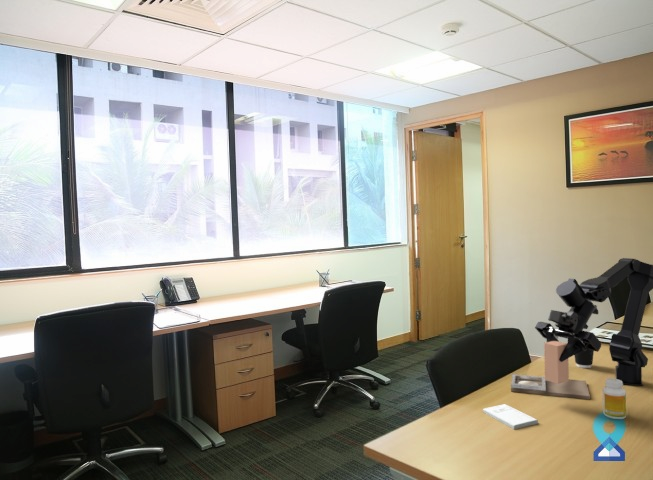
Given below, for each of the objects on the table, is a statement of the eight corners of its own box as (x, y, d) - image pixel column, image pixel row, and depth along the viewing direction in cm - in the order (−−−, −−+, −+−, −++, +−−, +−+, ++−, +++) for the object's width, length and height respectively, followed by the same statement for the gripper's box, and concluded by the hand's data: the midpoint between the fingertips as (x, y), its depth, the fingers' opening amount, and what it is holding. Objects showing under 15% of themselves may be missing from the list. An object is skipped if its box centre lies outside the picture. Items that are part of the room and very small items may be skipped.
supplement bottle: (629, 420, 129) (629, 384, 129) (607, 419, 130) (606, 383, 130) (621, 412, 134) (621, 377, 134) (600, 411, 136) (599, 377, 135)
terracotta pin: (555, 376, 145) (554, 340, 145) (568, 381, 141) (568, 343, 141) (544, 379, 143) (544, 342, 143) (558, 383, 139) (557, 346, 139)
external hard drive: (513, 431, 127) (482, 413, 138) (538, 425, 130) (505, 408, 141) (513, 425, 127) (482, 408, 138) (538, 419, 130) (505, 403, 141)
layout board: (585, 383, 157) (585, 377, 157) (590, 399, 144) (589, 392, 144) (513, 377, 166) (512, 370, 165) (511, 391, 153) (510, 384, 153)
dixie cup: (600, 369, 170) (600, 338, 169) (577, 369, 171) (577, 338, 170) (589, 362, 178) (589, 332, 177) (567, 362, 178) (567, 333, 178)
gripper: (538, 295, 151) (513, 335, 147) (594, 304, 134) (567, 350, 130) (556, 317, 155) (532, 357, 151) (612, 328, 138) (587, 373, 134)
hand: (553, 358), depth 141 cm, fingers closed on terracotta pin, 4 cm apart
